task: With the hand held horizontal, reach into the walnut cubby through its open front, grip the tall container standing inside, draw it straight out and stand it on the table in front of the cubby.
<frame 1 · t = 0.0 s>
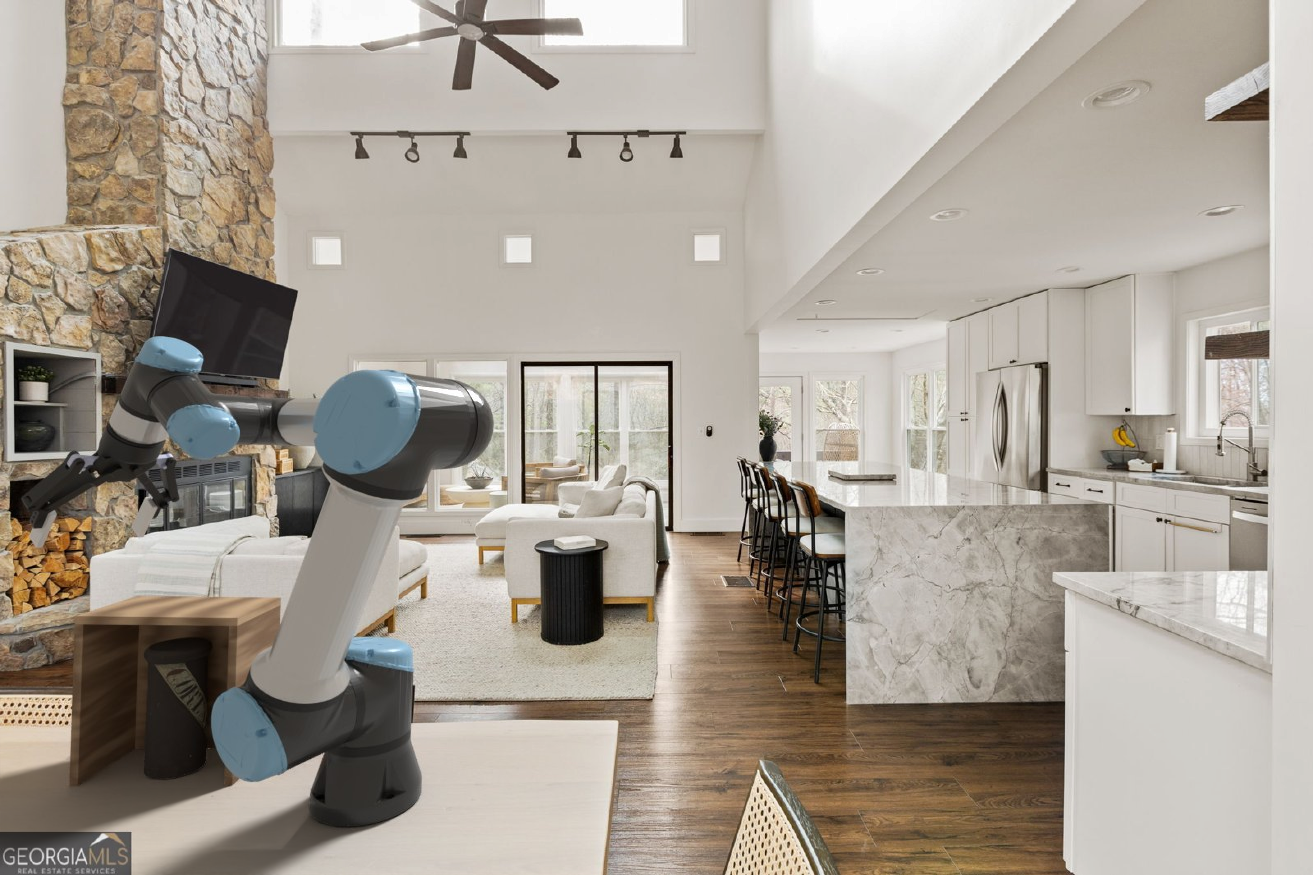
hand: (89, 536, 108), 36 cm above the table, tool tilted 35°, fingers open, 13 cm apart
heart: (324, 742, 117), on the table
container: (175, 769, 107), on the table
cubby: (177, 766, 107), on the table
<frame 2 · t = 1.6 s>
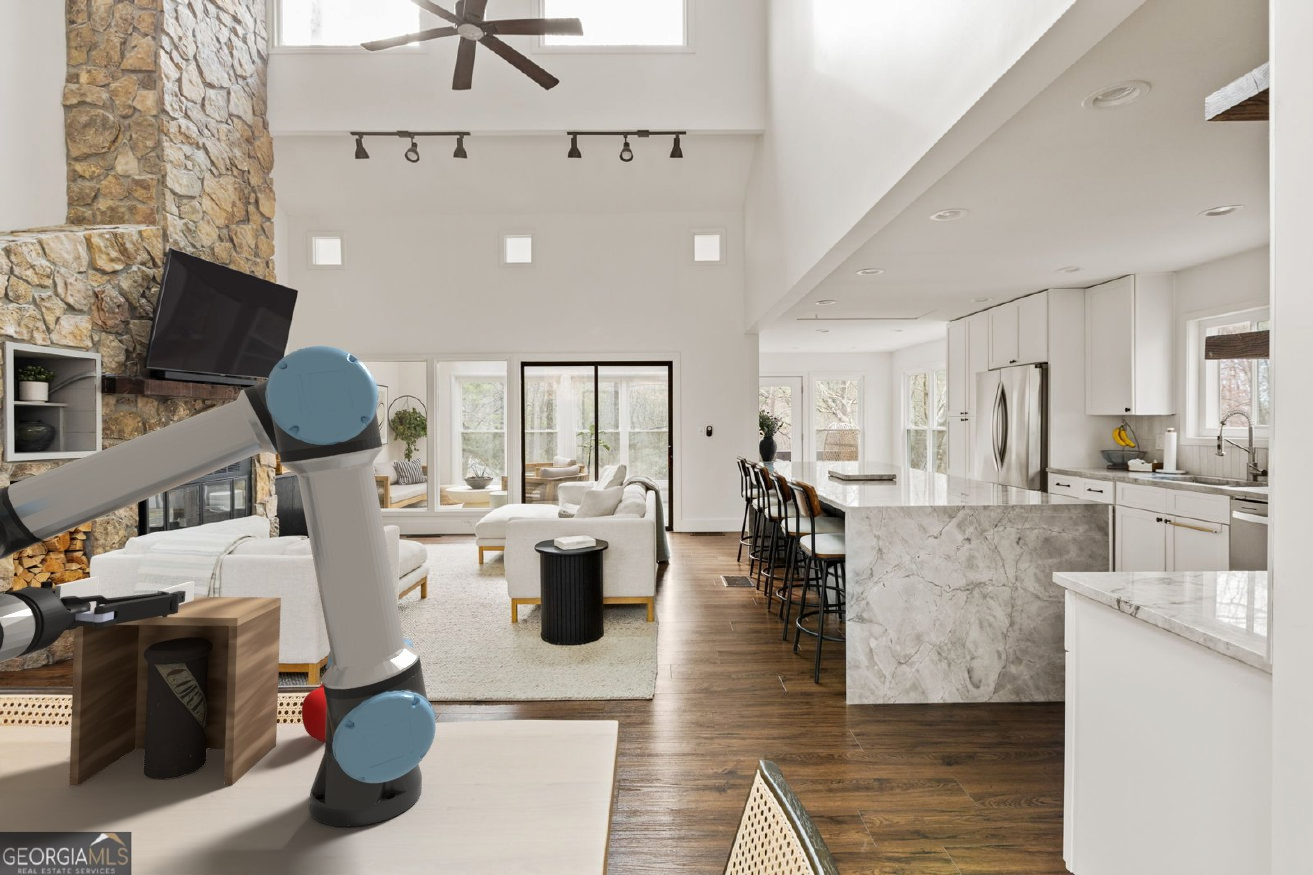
hand: (144, 588, 98), 30 cm above the table, tool horizontal, fingers open, 13 cm apart
nothing on the table moved.
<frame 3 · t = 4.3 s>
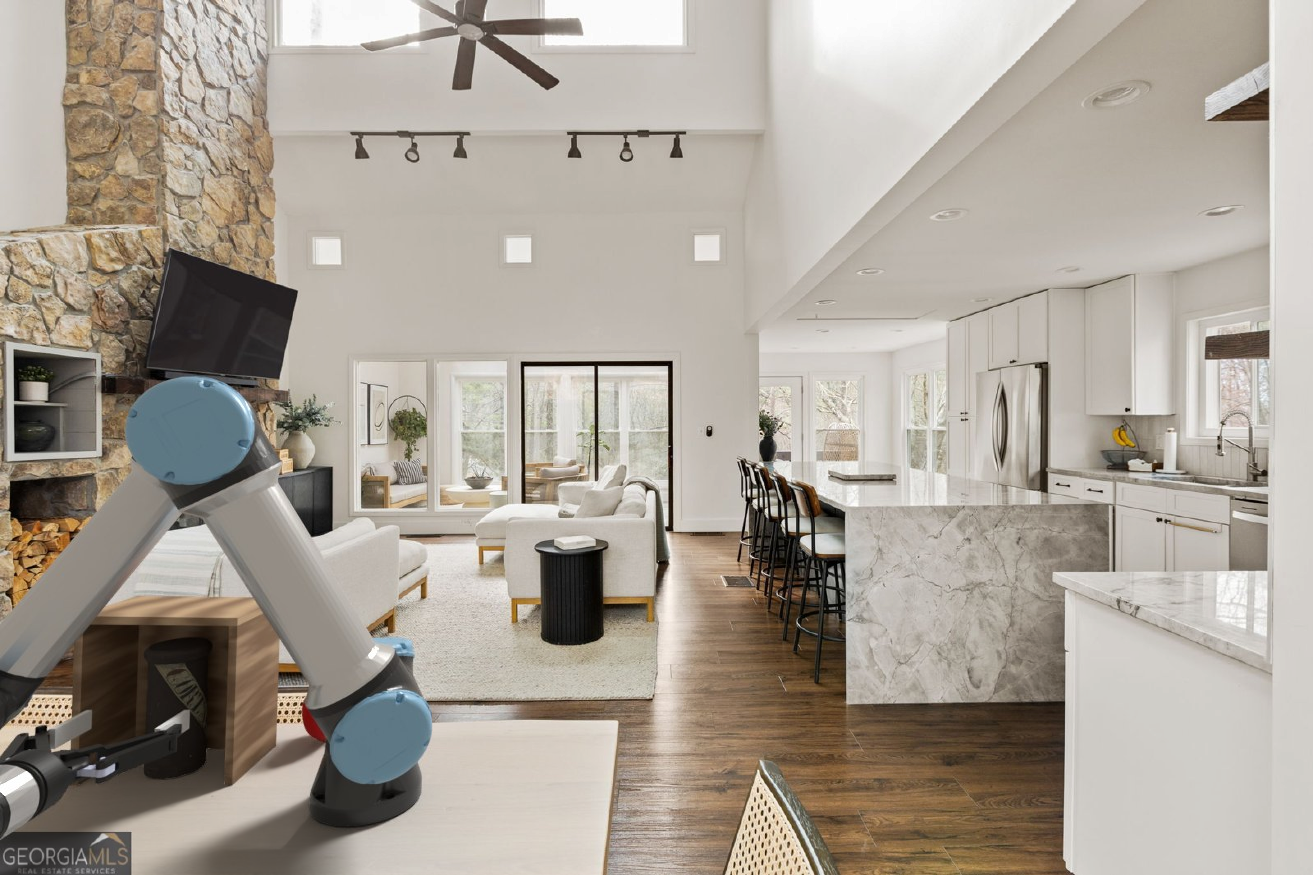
hand: (138, 719, 99), 11 cm above the table, tool horizontal, fingers open, 13 cm apart
nothing on the table moved.
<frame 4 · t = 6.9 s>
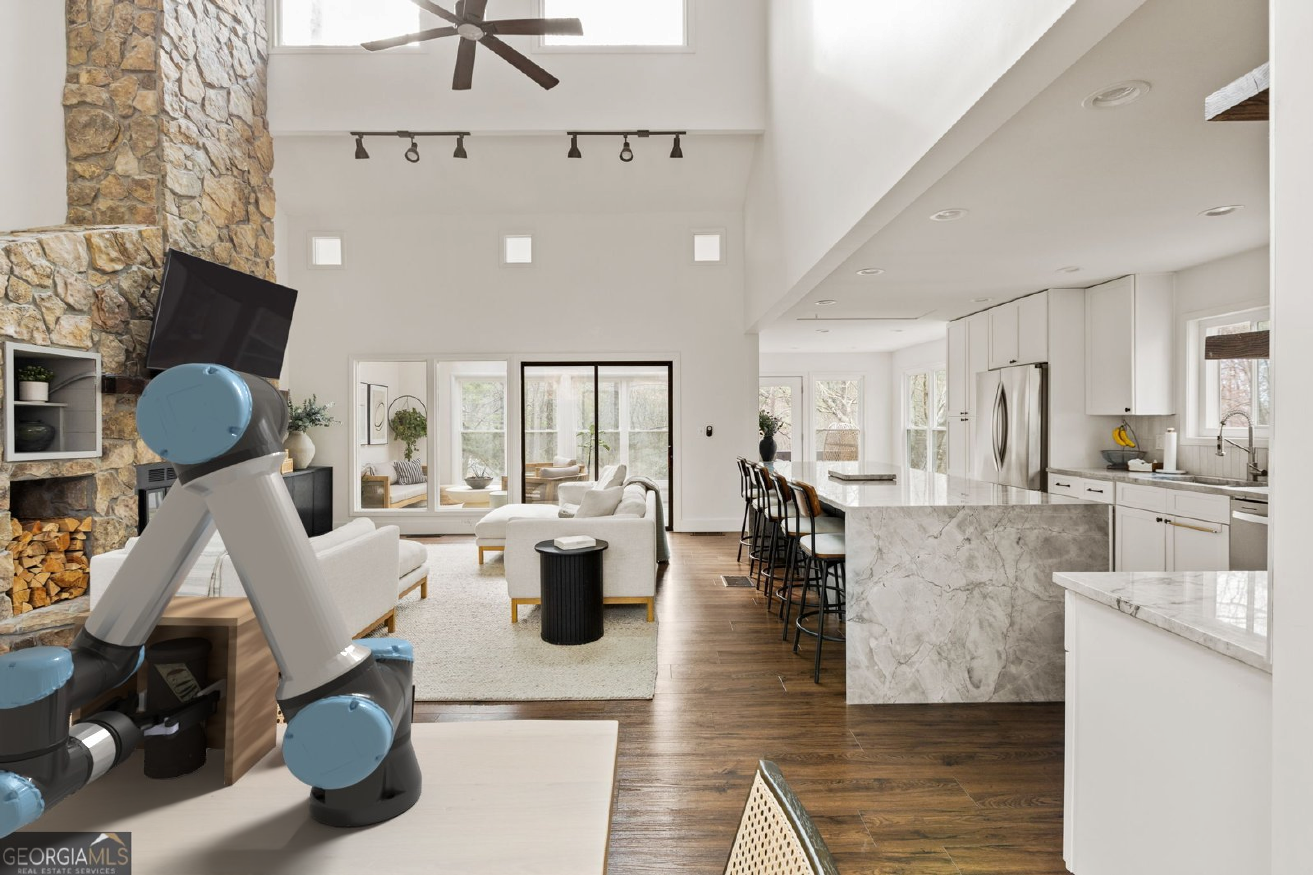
hand: (196, 687, 111), 11 cm above the table, tool horizontal, fingers closed on container, 8 cm apart
container: (175, 769, 107), on the table, touching gripper
everything else where it was.
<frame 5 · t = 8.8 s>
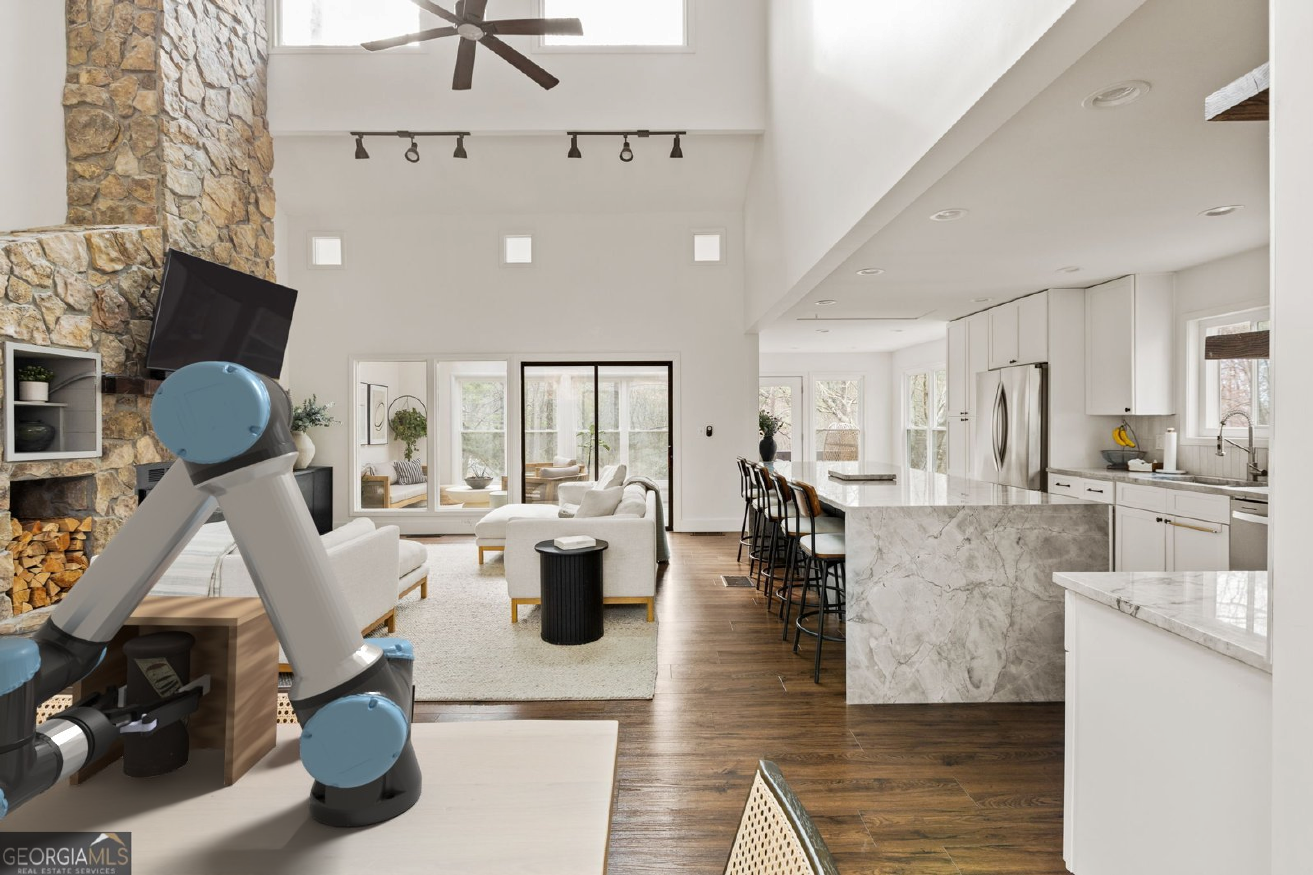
hand: (179, 682, 107), 13 cm above the table, tool horizontal, fingers closed on container, 8 cm apart
container: (156, 767, 103), point 2 cm above the table, touching gripper
everything else where it was.
when the fingers open (12 cm above the table, at t = 11.0 s): container drops 1 cm, on the table.
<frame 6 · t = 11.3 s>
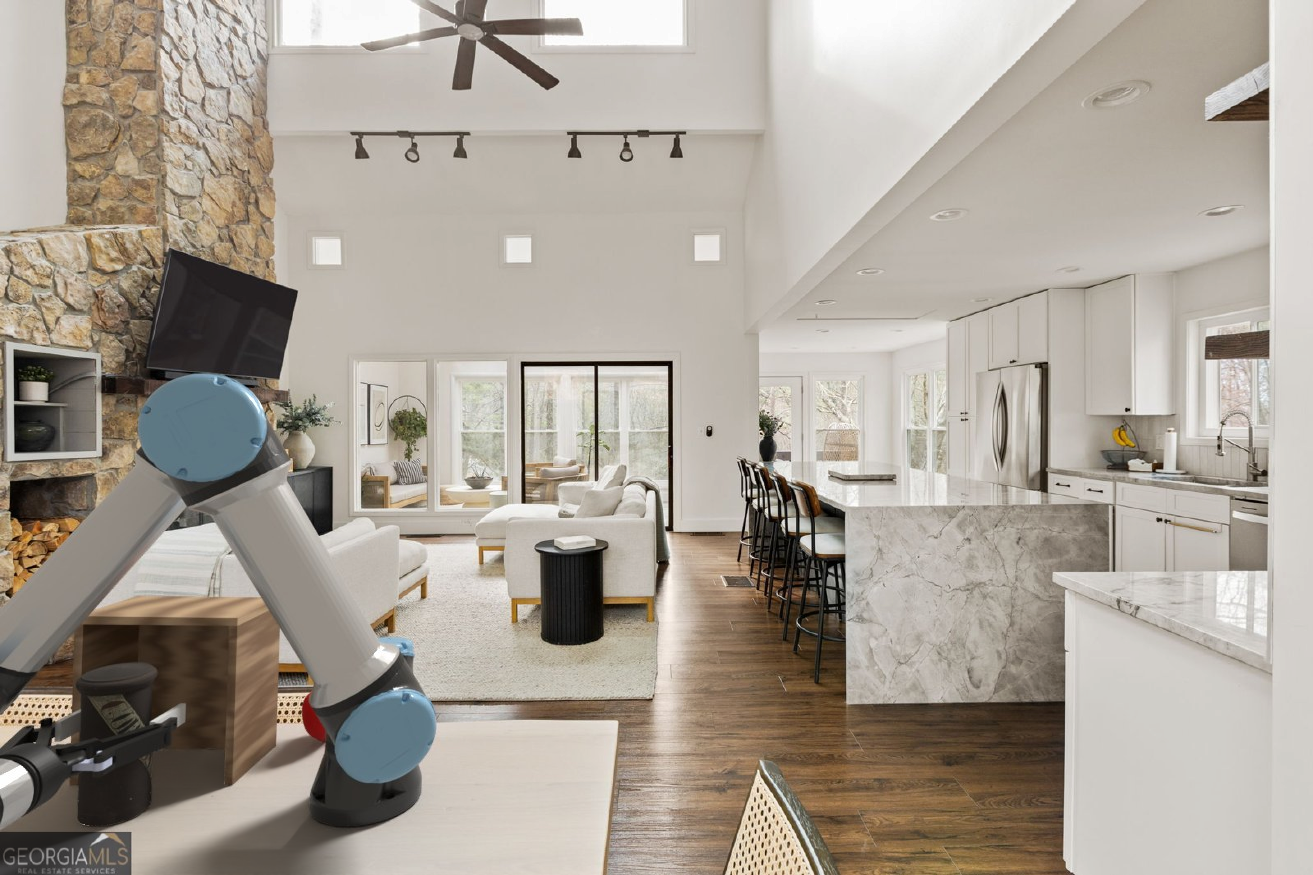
hand: (139, 712, 98), 12 cm above the table, tool horizontal, fingers open, 11 cm apart
container: (114, 812, 94), on the table
everything else where it was.
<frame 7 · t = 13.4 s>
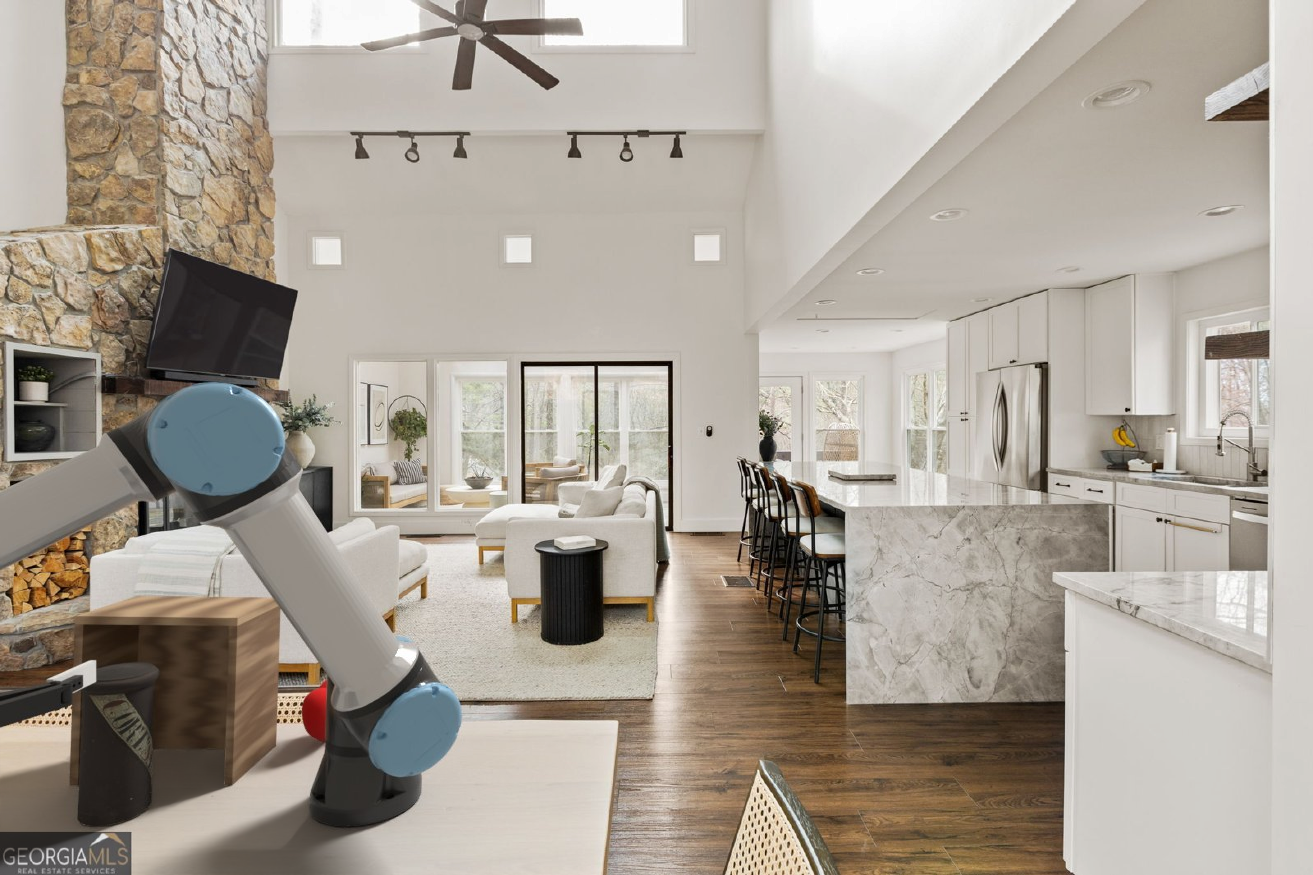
hand: (35, 671, 84), 23 cm above the table, tool horizontal, fingers open, 13 cm apart
nothing on the table moved.
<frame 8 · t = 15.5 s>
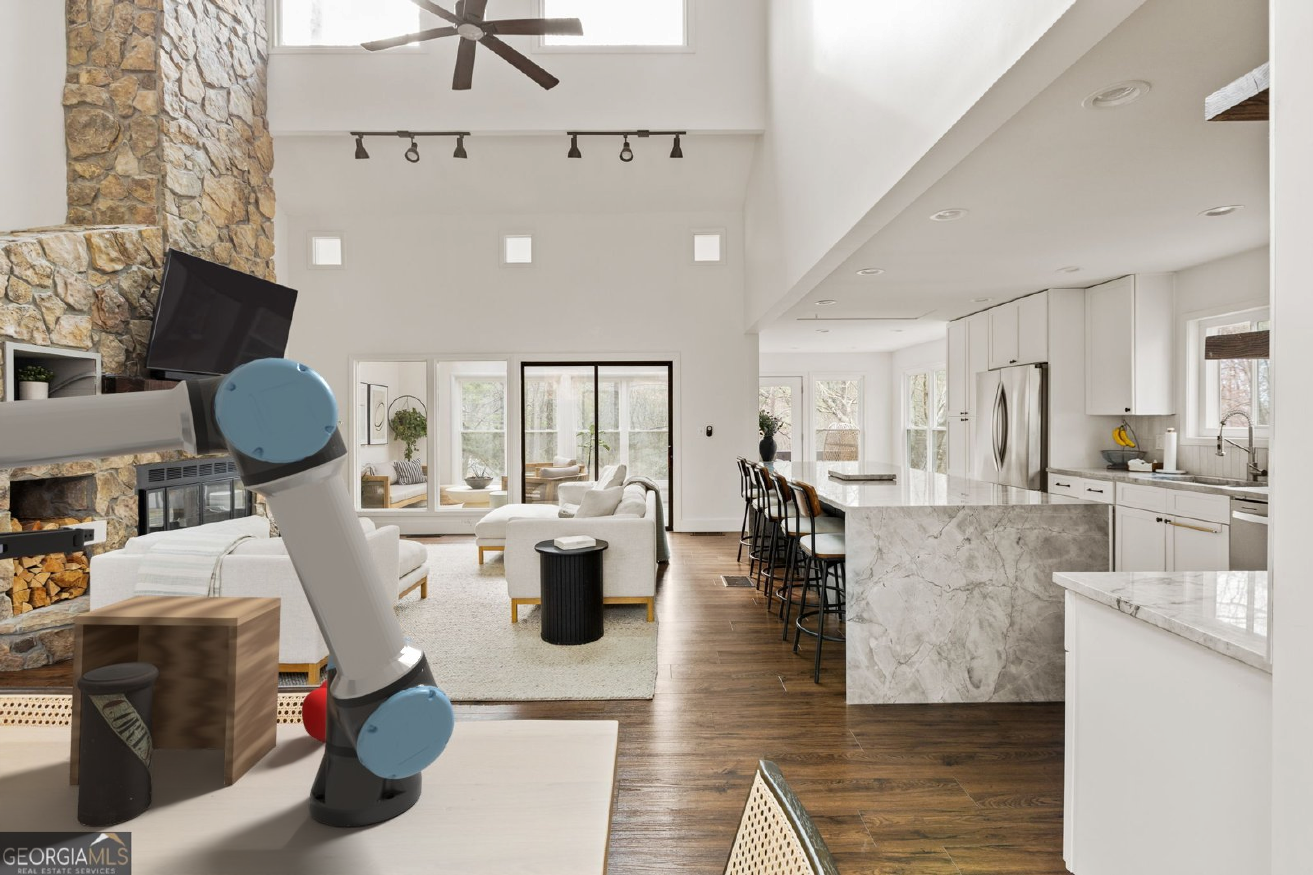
hand: (48, 529, 87), 40 cm above the table, tool horizontal, fingers open, 13 cm apart
nothing on the table moved.
at the end: container inside the target area (0.4 cm from its centre), on the table; container tilted 0°; the gripper is holding nothing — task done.
